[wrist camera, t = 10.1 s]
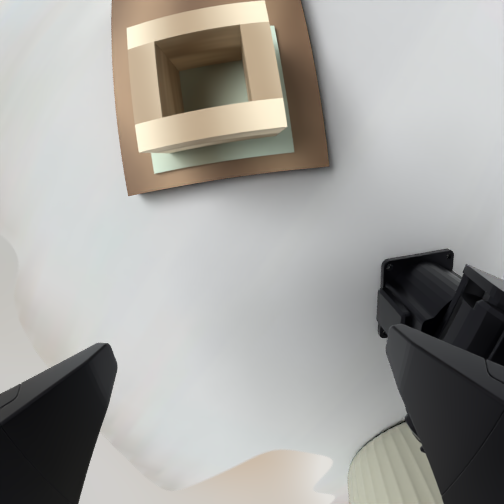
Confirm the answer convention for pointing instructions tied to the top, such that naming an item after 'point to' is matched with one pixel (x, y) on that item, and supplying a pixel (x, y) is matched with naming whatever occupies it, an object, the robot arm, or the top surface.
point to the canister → (392, 471)
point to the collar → (197, 55)
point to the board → (223, 103)
